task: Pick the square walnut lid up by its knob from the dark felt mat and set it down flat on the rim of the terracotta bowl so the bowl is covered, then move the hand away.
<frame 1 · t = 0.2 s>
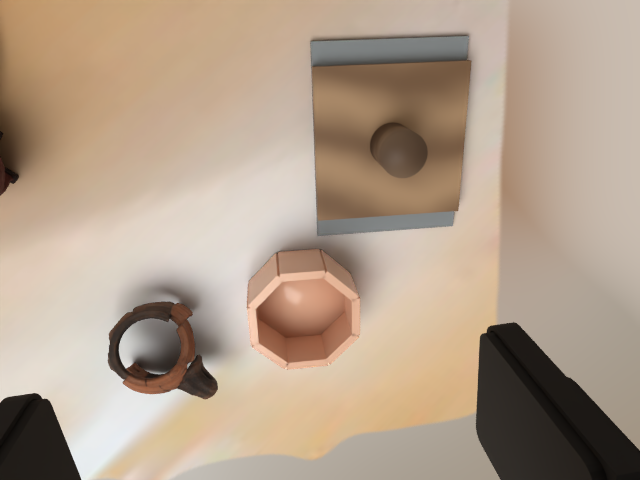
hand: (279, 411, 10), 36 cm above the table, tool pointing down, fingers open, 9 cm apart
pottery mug: (171, 339, 51), on the table
bowl: (301, 296, 51), on the table
lid: (388, 142, 45), resting on mat
mat: (387, 141, 45), on the table
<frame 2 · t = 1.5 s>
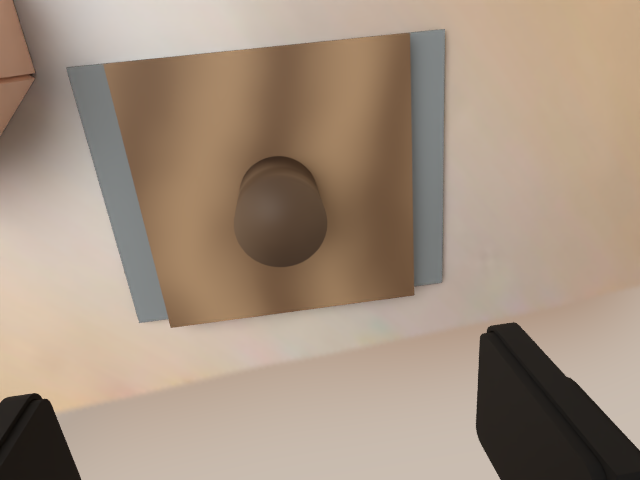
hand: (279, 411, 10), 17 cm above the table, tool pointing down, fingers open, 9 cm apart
lid: (278, 189, 25), resting on mat
mat: (278, 186, 26), on the table
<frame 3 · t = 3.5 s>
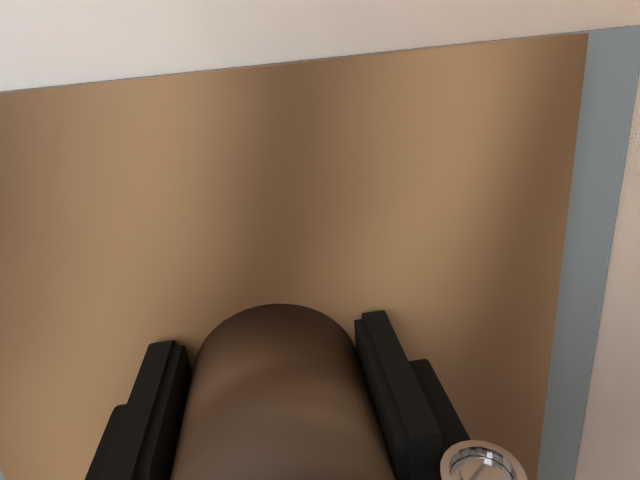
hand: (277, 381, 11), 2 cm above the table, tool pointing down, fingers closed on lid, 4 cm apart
lid: (276, 351, 12), resting on mat, touching gripper
mat: (275, 342, 13), on the table
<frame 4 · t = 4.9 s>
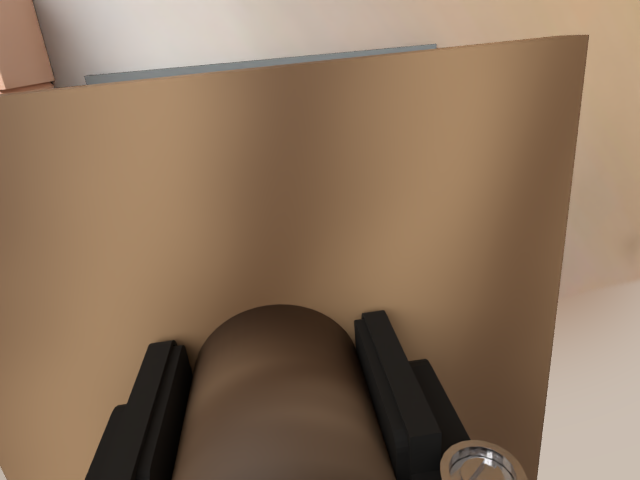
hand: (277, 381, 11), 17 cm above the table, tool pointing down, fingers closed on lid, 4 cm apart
lid: (277, 351, 12), point 16 cm above the table, touching gripper
mat: (280, 189, 27), on the table
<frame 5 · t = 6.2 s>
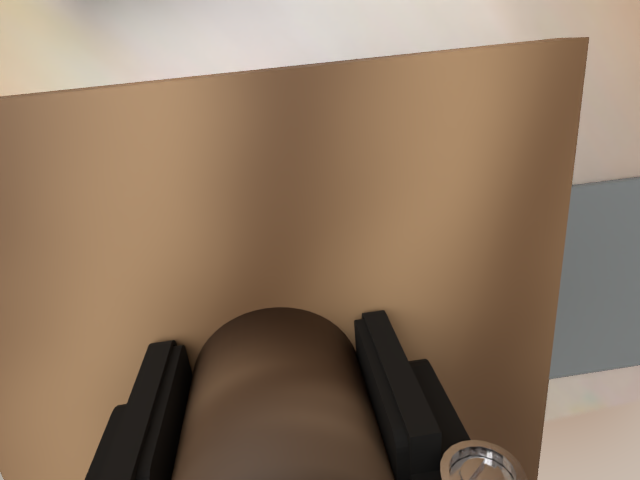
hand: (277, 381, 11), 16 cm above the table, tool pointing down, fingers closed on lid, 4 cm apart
lid: (276, 354, 12), point 15 cm above the table, touching gripper
mat: (534, 292, 31), on the table
when the fingers open (7 cm above the table, at t = 8.4 s): lid drops 1 cm, resting on bowl.
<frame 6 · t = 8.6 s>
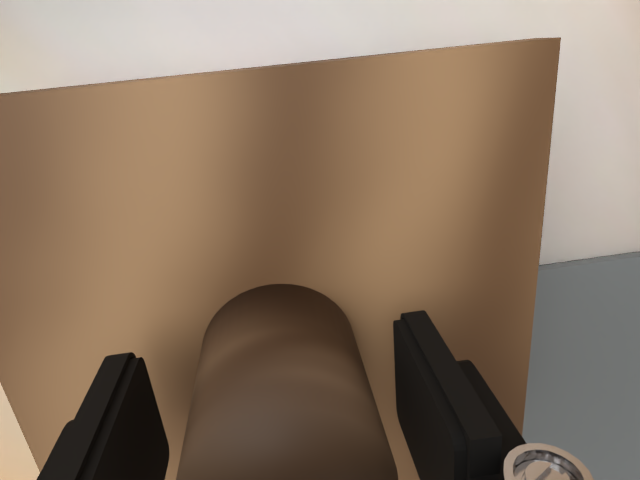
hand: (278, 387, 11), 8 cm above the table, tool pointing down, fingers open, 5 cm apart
lid: (278, 330, 13), point 5 cm above the table, touching bowl
mat: (630, 382, 23), on the table
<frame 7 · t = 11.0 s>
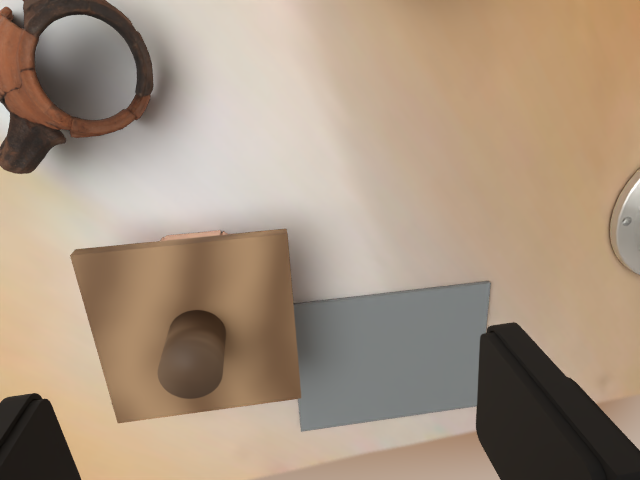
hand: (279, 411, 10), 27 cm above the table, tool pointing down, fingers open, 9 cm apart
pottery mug: (73, 80, 32), on the table
bowl: (203, 293, 39), on the table
lid: (199, 326, 35), point 5 cm above the table, touching bowl
mat: (390, 357, 45), on the table
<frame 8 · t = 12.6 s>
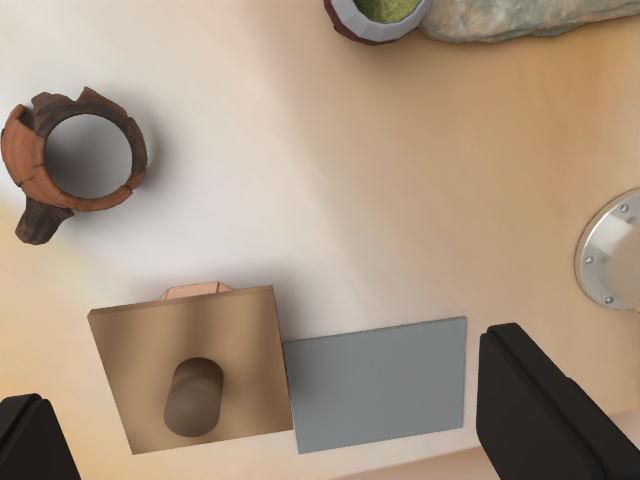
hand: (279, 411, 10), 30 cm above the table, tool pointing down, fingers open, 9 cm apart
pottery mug: (79, 157, 37), on the table
bowl: (205, 335, 44), on the table
lid: (200, 369, 40), point 5 cm above the table, touching bowl
mat: (377, 386, 49), on the table
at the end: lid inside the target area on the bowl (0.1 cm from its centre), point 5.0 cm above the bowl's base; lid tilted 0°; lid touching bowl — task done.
